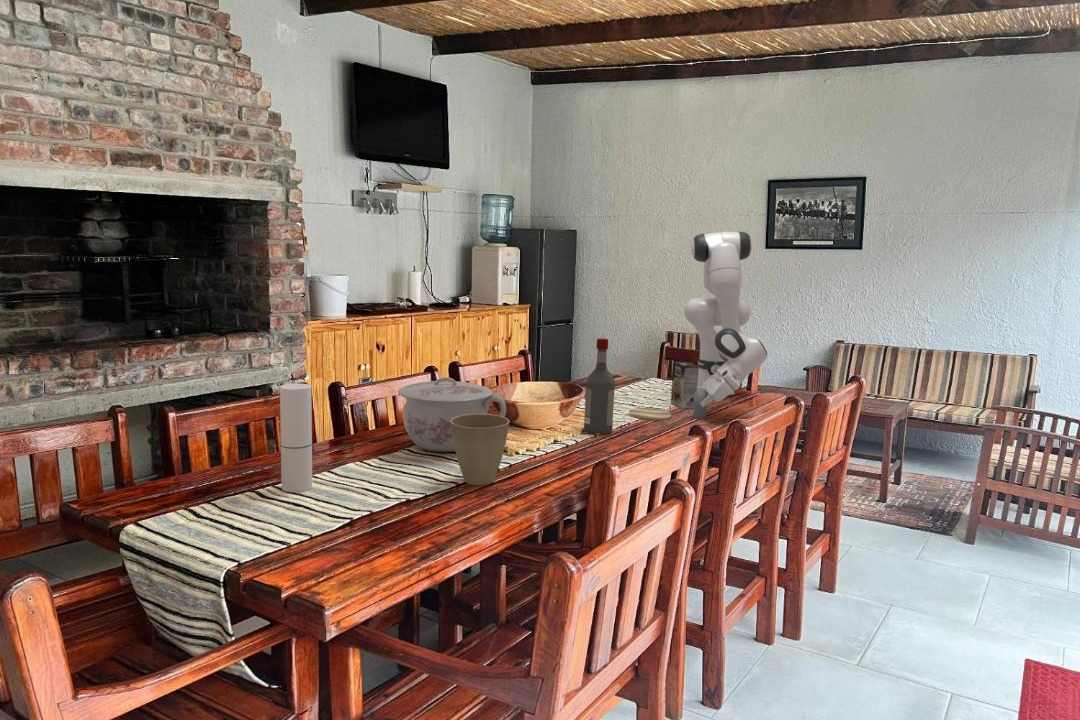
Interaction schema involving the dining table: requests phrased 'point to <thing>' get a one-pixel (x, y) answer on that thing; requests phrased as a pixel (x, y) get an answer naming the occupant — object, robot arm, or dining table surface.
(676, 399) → the coffee box
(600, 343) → the liquor
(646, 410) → the trivet
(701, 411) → the small gray bottle
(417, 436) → the chamber pot
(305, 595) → the dining table surface
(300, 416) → the cylindrical container
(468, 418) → the plant pot
